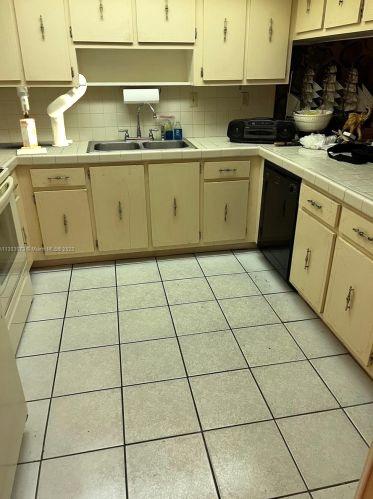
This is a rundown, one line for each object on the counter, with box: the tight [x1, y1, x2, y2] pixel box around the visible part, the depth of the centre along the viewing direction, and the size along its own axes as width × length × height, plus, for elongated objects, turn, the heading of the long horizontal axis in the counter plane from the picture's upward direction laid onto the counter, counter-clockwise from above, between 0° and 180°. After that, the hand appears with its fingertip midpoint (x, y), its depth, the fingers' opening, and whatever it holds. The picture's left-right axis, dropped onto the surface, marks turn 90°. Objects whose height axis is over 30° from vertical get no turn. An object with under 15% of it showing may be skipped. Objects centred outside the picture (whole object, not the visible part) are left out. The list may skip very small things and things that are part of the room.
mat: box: [16, 146, 48, 156], centre depth 270 cm, size 20×25×2 cm
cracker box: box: [19, 118, 39, 147], centre depth 283 cm, size 14×6×21 cm, turn 179°
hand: (27, 119), depth 287 cm, fingers closed
